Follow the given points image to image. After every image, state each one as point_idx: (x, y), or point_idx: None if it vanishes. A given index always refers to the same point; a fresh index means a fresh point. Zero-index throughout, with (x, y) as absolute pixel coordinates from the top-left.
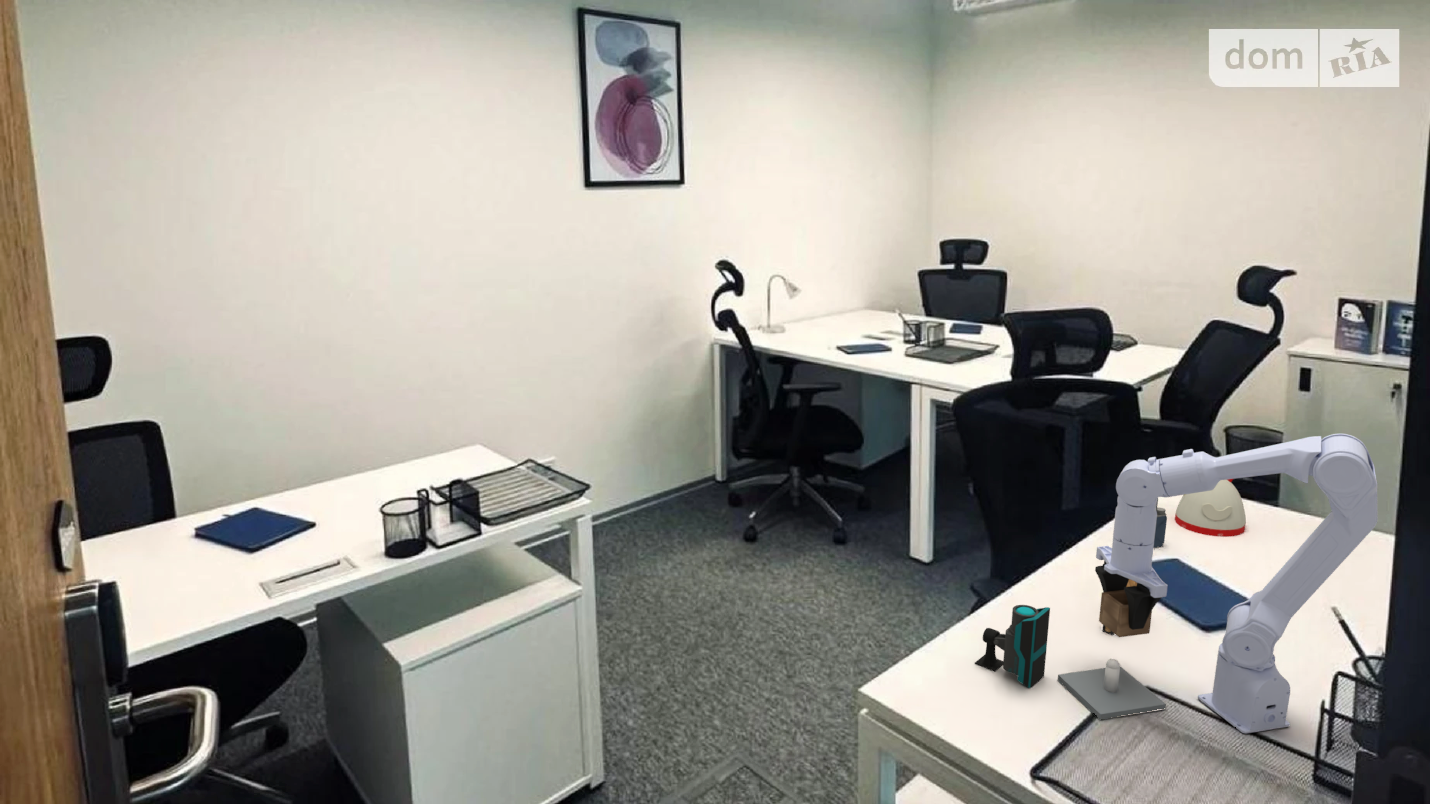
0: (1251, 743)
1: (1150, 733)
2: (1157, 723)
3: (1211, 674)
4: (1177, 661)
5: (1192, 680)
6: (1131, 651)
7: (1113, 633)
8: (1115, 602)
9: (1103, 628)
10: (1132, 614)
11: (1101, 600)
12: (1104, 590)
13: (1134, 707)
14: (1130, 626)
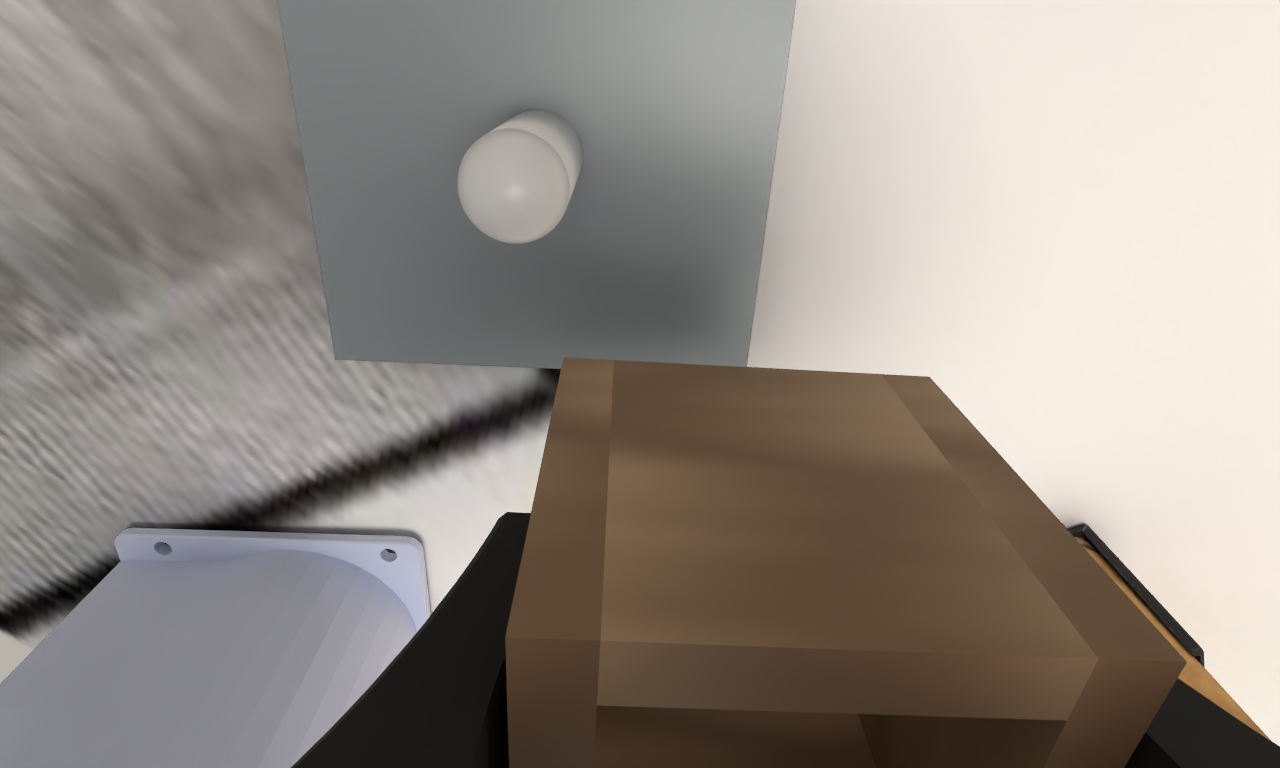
0: (62, 512)
1: (126, 108)
2: (228, 219)
3: None
4: None
5: None
6: None
7: None
8: (742, 649)
9: (1091, 536)
10: (402, 656)
11: (1072, 547)
12: (1209, 734)
13: (319, 161)
14: (523, 525)
